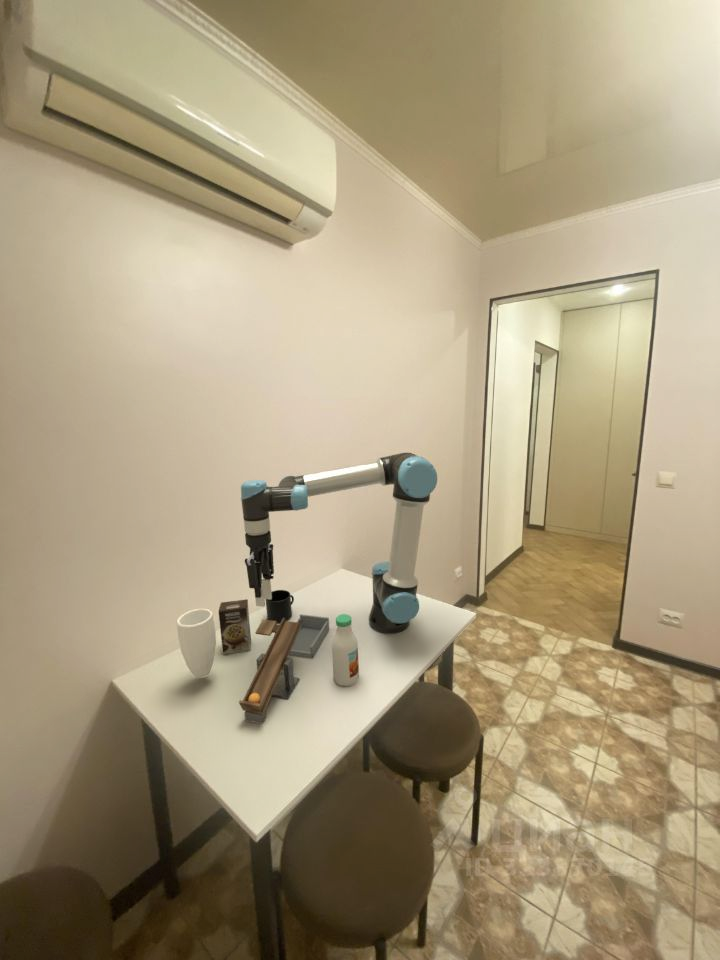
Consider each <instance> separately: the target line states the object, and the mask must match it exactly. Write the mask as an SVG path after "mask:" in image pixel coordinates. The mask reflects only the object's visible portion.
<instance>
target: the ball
mask: <svg viewBox="0 0 720 960" xmlns="http://www.w3.org/2000/svg"><path fill="white" fill-rule="evenodd" d="M248 701H249V702H253V703H258V704H259V702H260V696H259V694H257V693H253V694H251V695H250V697H249V699H248Z"/></svg>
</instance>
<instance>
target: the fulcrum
mask: <svg viewBox="0 0 720 960" xmlns="http://www.w3.org/2000/svg"><path fill="white" fill-rule="evenodd" d="M265 654H266V653H260V655H259V656H258V657H257V658H256V669H257V670H258V668H259V666H260V664H261V662H262V660H263V658H264V656H265ZM293 661H294V660H293V657H289V656H288V658H287V660H286V661H285V663H284V664H283V665H284V668H283V674H280V677H279V679H278V681H277V684H276V686H275V688H274V691H273V693H272V695H271V698H277V699H282V700H289V699H290V697H291V695H292V694H293V692H294V690H295V689H296V687H297V685H298V683H299V681H300V677H299V676H295V674H294V662H293ZM257 670H256V671H257Z"/></svg>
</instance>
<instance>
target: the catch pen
mask: <svg viewBox="0 0 720 960" xmlns="http://www.w3.org/2000/svg"><path fill="white" fill-rule="evenodd" d="M298 620H300V621H301V624H302V625H301V627H300V630H299V632H298V634H297V637H296V639H295V641H294V644H293V646H292V648H291V651H290V653H289V655H288V656H294V657H295V656H296V657H301V658H309V659H314V657H315V656H316V655H317V652H318V650H319V649H320V647H321V645H322V644H323V641H324V640H325V638H326V637H327V634H328V633H329V632H330V619H329V617H325V616H319V615H318V616H317V615H308V614H299V618H298V619H297V620H296V622H298Z"/></svg>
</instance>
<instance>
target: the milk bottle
mask: <svg viewBox="0 0 720 960" xmlns="http://www.w3.org/2000/svg"><path fill="white" fill-rule="evenodd" d="M352 621H353V620H352V616H351V615H349V614H347V613H343V614H339V615H337V616H336V617H335V626H336V630H335V633H334V636H333V638H332V643H331V654H332V655H331V657H332V674H333V681H334V682H335V683H336V684H337V685H338V686H342V687H349V686H353V685H355V684H356V683H357V681H358V680H359V678H360V667H359V666H360V665H359V647H358V638H357V636H356V634H355V632H354V631H353V628H352V624H353V623H352Z"/></svg>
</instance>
